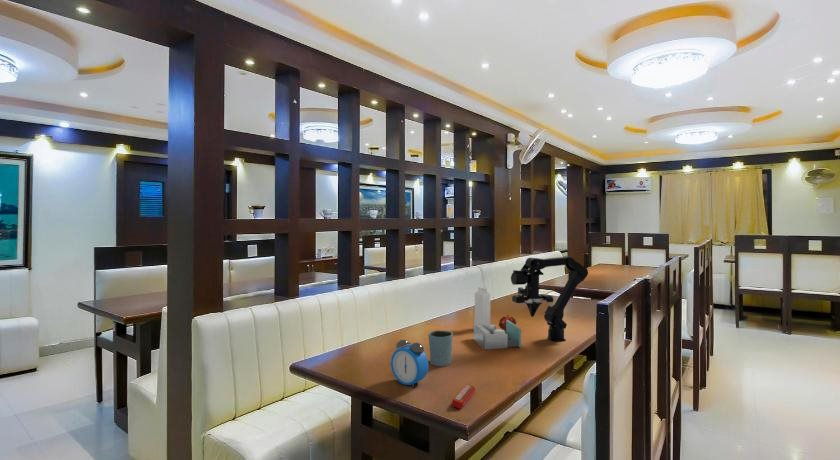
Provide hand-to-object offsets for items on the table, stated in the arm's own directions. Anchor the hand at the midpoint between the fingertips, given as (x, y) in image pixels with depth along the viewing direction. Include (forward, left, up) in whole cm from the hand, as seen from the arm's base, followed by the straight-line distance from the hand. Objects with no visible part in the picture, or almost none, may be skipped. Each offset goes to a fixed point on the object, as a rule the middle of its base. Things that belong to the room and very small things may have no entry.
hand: (532, 316), depth 195 cm
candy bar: (+48, +57, -13) cm, 76 cm away
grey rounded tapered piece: (+16, 0, -11) cm, 20 cm away
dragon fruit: (+5, -20, -12) cm, 24 cm away
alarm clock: (+64, +41, -12) cm, 77 cm away
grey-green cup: (+49, +22, -12) cm, 55 cm away
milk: (+17, -25, -12) cm, 33 cm away
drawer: (+16, 0, -12) cm, 20 cm away
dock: (+21, 0, -12) cm, 24 cm away
